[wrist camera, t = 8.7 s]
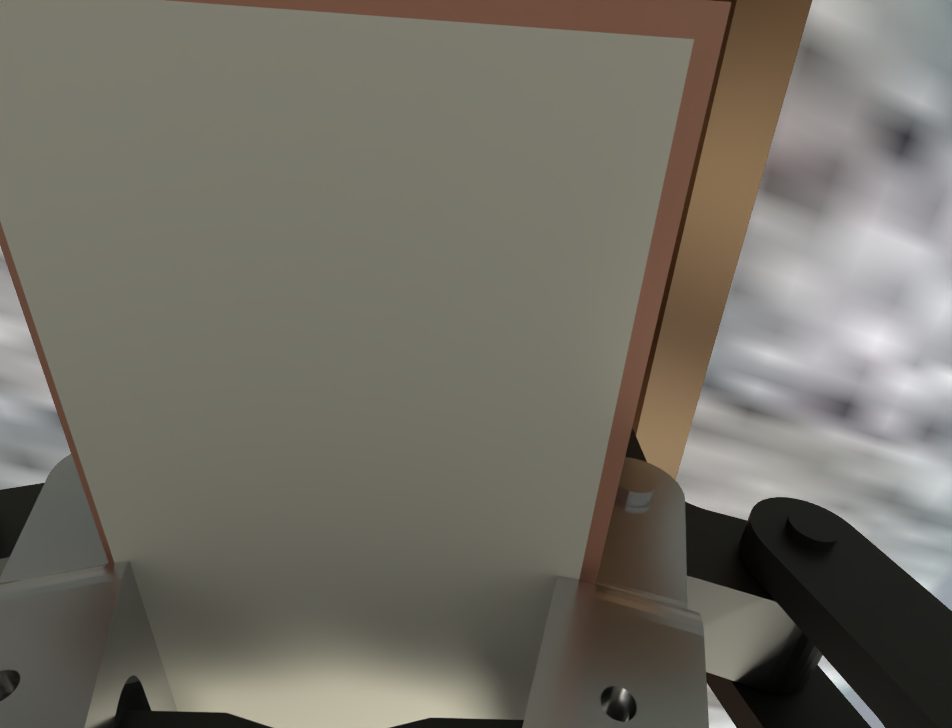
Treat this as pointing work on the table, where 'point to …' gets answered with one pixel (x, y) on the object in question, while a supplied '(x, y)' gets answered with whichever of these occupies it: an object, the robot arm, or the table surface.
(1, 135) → the book
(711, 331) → the book rack
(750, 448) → the table surface
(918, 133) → the table surface
